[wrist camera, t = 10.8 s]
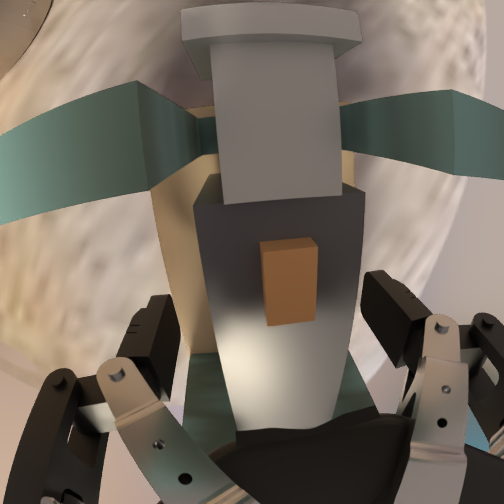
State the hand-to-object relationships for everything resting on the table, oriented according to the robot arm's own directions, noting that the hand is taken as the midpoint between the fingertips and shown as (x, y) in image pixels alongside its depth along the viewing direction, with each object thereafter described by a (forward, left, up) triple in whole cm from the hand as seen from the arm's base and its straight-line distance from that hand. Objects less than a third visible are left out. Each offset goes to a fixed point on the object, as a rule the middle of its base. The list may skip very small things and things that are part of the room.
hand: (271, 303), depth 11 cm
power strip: (0, 0, -2) cm, 2 cm away
